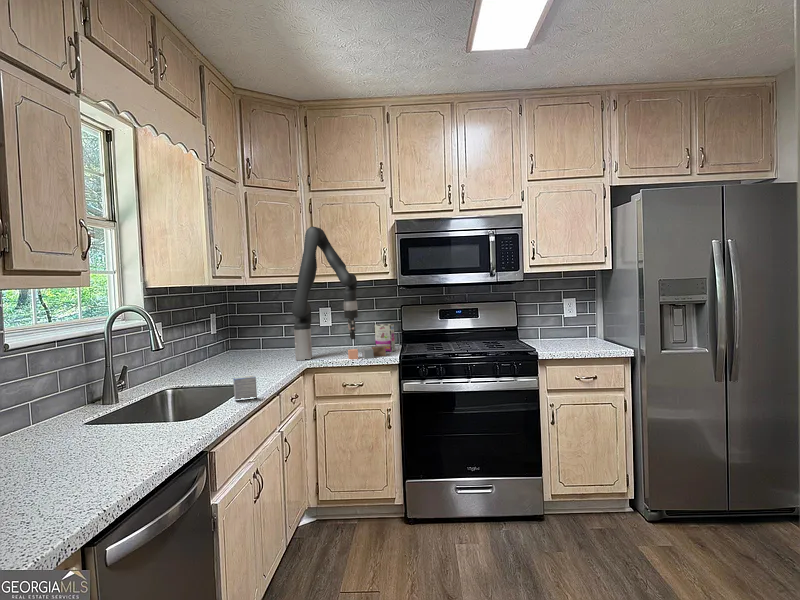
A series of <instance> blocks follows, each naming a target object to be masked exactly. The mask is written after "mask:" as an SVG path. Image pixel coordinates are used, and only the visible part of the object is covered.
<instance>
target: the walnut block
mask: <svg viewBox="0 0 800 600" xmlns="http://www.w3.org/2000/svg"><path fill="white" fill-rule="evenodd" d="M371 349H373V355H374V356H379V357H386V356H387V355H386V353H387V352H386V350H385V347H384V346H377V347H376V346H372V347H371Z"/></svg>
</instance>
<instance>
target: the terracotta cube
mask: <svg viewBox="0 0 800 600" xmlns="http://www.w3.org/2000/svg"><path fill="white" fill-rule="evenodd" d="M358 350H359V349H358V348H355V349H354V348H353V349H352V348H351V349H347V353H348V354H347V355H348V357H347V358H348V360H349V359H351V360H359V351H358Z"/></svg>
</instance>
